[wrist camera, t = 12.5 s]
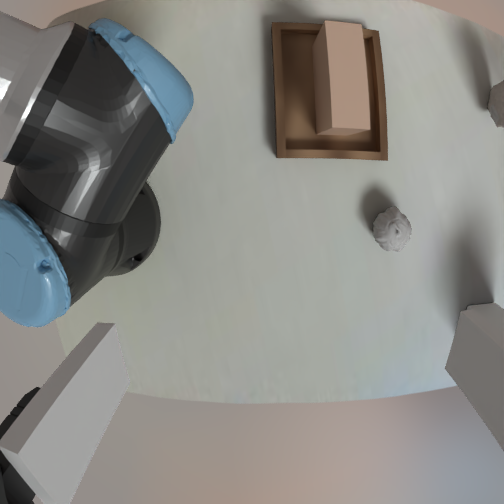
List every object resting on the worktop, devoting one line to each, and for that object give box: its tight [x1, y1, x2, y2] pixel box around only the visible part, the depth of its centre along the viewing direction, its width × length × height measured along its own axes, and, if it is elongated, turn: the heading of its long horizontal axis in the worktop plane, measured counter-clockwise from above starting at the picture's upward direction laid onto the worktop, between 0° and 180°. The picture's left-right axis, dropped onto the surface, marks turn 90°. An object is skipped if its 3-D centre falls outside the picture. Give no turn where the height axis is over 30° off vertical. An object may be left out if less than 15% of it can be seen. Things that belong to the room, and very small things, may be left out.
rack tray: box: [271, 22, 388, 161], centre depth 35 cm, size 14×18×2 cm
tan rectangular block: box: [312, 20, 370, 136], centre depth 31 cm, size 4×12×9 cm, turn 2°
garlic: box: [373, 207, 412, 252], centre depth 39 cm, size 6×5×5 cm
